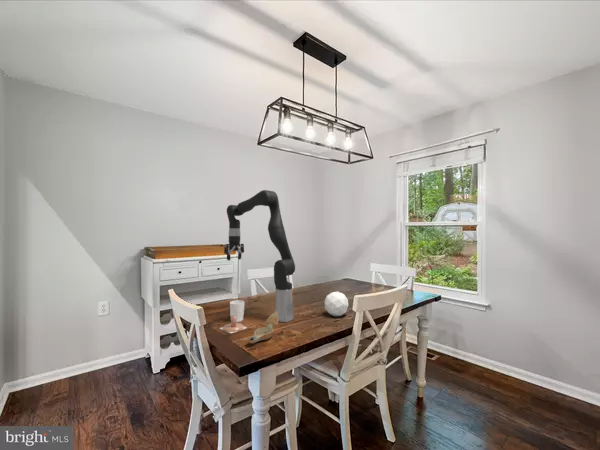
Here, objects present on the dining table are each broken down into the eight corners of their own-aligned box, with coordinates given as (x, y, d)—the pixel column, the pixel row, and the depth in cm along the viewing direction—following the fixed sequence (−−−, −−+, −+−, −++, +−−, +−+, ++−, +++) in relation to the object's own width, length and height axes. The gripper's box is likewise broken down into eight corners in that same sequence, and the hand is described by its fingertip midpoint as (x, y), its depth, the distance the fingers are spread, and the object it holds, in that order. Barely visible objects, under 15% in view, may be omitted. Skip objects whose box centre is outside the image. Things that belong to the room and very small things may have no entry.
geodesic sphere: (332, 299, 176) (327, 283, 168) (354, 302, 168) (349, 286, 161) (324, 318, 165) (317, 303, 158) (347, 323, 158) (341, 307, 151)
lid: (247, 327, 140) (247, 316, 140) (231, 333, 132) (231, 321, 132) (235, 323, 146) (235, 312, 146) (219, 328, 139) (219, 316, 139)
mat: (247, 328, 140) (247, 327, 140) (231, 334, 132) (231, 333, 132) (235, 323, 146) (235, 323, 146) (219, 329, 139) (219, 328, 139)
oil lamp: (283, 332, 135) (283, 312, 136) (257, 349, 117) (257, 325, 117) (268, 329, 139) (269, 309, 140) (241, 345, 121) (241, 322, 121)
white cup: (238, 317, 158) (238, 299, 158) (247, 320, 153) (247, 301, 153) (226, 320, 151) (226, 302, 152) (235, 323, 146) (235, 304, 146)
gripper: (228, 235, 175) (228, 261, 175) (246, 235, 186) (246, 259, 186) (222, 235, 180) (221, 260, 180) (239, 235, 191) (239, 258, 191)
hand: (234, 259), depth 183 cm, fingers open, 8 cm apart
